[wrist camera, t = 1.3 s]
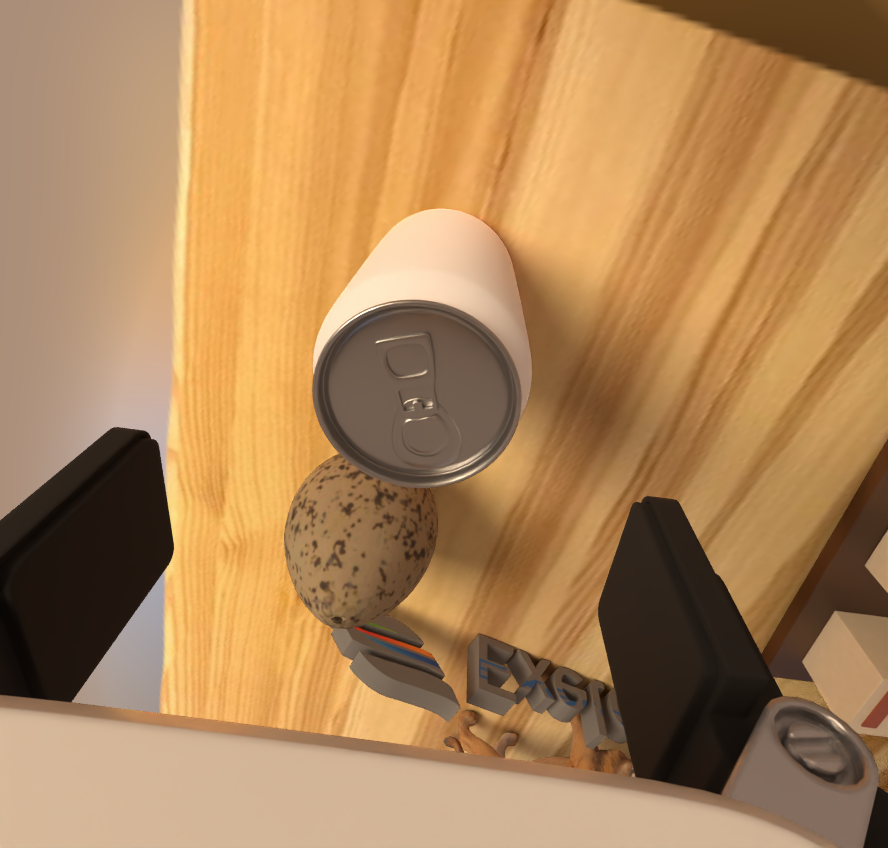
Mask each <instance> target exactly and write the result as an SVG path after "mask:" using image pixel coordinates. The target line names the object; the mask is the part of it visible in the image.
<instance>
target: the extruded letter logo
mask: <svg viewBox="0 0 888 848" xmlns="http://www.w3.org/2000/svg"><path fill="white" fill-rule="evenodd" d="M330 627H331V626H330ZM331 628H333V629H334V630H333V632H332V633H331V635H332V637H333V639H334V641H335V643H336V644H337V646H338V648H339V650H340V652H341V654H342V655H343V656H345V657H347V658H349V659H351V660H353V662H352V663H351V665H350V666H349V667H350V669H351V670H352V671H353V672H354V674H355V675H356V676H357V677H358V678H359V679H360V680H361V681H362V682H363V683H365V684H366V685H367V686H368V687H370V688H371V689H372V690H374V691H376V692H377V693H379V694H381V695H383V696H386V697H389V698H393V699H396V700H399V701H402V702H405V703H408V704H412V705H415V706H418V707H421V708H424V709H426V710H429V711H431V712H434V713H436V714H438V715H439V716H441V717H442V718H444V719H445V720H446V721H447V722H449V721H450V720H451V719H452V717H453V716H454V715H455V714H456V713H457V712H458V710H459V709H460V705H459V702H458V700H457V698H456V696H455V694H454V691H453V689H452V688H451V687H450V686H449V685H448V684H447V683H445V682H444V681H442V679H443V678H444V676H445V675H444V673H443V671H442V670H441V668H440V667H439V665H438V663H437V662H436V660H435V658H434V657H433V655H432V654H431V653H429V652H426V651H424V650H422V649H420V648H421V647H422V645H423V644H424V643H423V641H422V640H421V639H420V638H419V637H418V636H417V635H416V634H415V633H414V632H413V631H412V630H411V629H410V628H408V627H407V626H406V625H404V624H403V623H401V622H400V621H398V620H396V619H394V618H393V617H390V616H388V615H384V616H382V617H380V618H378V619H376V620H374V621H372V622H370V623H367V624H364V625H361V626H358V627H355V628H349V629H338V628H334V627H331ZM509 658H510V659H509ZM508 659H509V660H508ZM507 660H508V661H507ZM505 663H506V664H507V665H508V667H509V668H508V667H505V666H503V665H504V664H505ZM550 663H551V662H549V661H547V660H544V659H541V660H540V661H539V663H538V664H537V665H536V666H534V664H533V663H532V661H531V659H530V657H529V656H528V654H527V652H524V651H522V650H519V649H517V651H516V652H515V653H514V654H513V647H512V646H509V645H507V644H504V643H501V642H499V641H496V640H494V639H491V638H489V637H486V636H484V635H481V634H478V636H477V637H476V638H475V639H474V641H473V642H472V643H471V644H470V646H469V647H468V661H467V703H469V704H472V705H475V706H477V707H480V708H483V709H485V710H488V711H491V712H494V713H496V714H499V715H502V716H504V715H505V714H506V712H507V711H508V710H509V709H510V708H511V707H512V706H513V705H514V704H517V705H518V704H519V703H520V702H521V701H522V700H523V698H524V697H526V699H527V701H528V702H529V704H530V706H531V708H532V710H533V711H536V712H538V713H541V714H542V713H543V712H544V711H545V710H546V709H547V711H548V712H549V714H550V715H551V716H552V717H553V718H555V719H557V720H558V721H561V722H569V721H571V720H572V719H573V718H574V717H575V716H576V715H577V714H578V713H579V712H580V716H581V722H582V729H583V735H584V741H585V747H588V748H590V749H594V748H595V747H596V746H597V745H599V744H600V743H601V742H602V741H603V740H604V739H605V738H607V737H608V738H609V739H611V740H612V741H614V742H616V743H625V742H626V741H627V739H626V735H625V731H624V726H623V722H622V718H621V713H620V709H619V705H618V700H617V696H616V692H615V688H614V689H612V690H611V691H610V692H608V693H607V694H606V695H605V696H604V697H603V698H602V699H601V700H600V698H599V694H600V693H601V692H602V691H603V690H604V685H603V683H602V682H599V681H596V680H593V681H592V682H590V683H589V684H588V685H587V686H586V687H585V688H584V689H583V690H581V689H578V688H576V686H577V685H578V684H579V683H580V682H581V681H582V680H583V679H582V678H581V677H580V676H579V675H578V674H577V673H575V672H574V671H572V670H570V669H568V668H565V667H559V668H557V669H556V670H555V671H554V672H553V673H552V674H551V676H550V677H549V678H548V679H547V680H546V681H545V682H544V681H543V680H542V678H541V675H542V674H543V672H544V671H545V669H546V668H547V667H548V665H549V664H550ZM510 670H511V672H512V674H513V676H514V678H515V679H516V681H517V683H518V684H519V686H520V687H519V688H518V689H517V691H516V692H515V693H511V692H509V691H506V690H503V689H501V688H500V687H501V686H502V685H503V684H504V683H505V681H506V680H507V679H508V678H509V677H510V676H511V673H510Z"/></svg>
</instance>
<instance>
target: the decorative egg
mask: <svg viewBox="0 0 888 848" xmlns="http://www.w3.org/2000/svg"><path fill="white" fill-rule="evenodd" d="M437 532H438V517H437V509H436V504H435V501H434V497H433V495H432V492H431V490H430V488H411V487H403V486H398V485H394V484H390V483H387V482H384V481H381V480H378V479H376V478H374V477H372V476H370V475H368V474H366V473H364V472H362V471H361V470H359V469H358V468H356V467H355V466H353V465H352V464H351V463H349V462H348V461H347V460H346V459H345V458H344V457H343V456H342V455H341V454H338V455H336V456H333V457H332V458H330V459H328V460H326V461H325V462H324V463H322V464H321V465H320V466H318V467H317V468H316V469H315V470H314V471H313V472H312V473H311V474H310V475H309V476H308V477H307V478H306V479H305V481H304V482H303V484H302V485H301V487H300V488H299V490H298V491H297V493H296V495H295V497H294V499H293V501H292V504H291V507H290V510H289V513H288V517H287V521H286V526H285V533H284V545H285V556H286V561H287V566H288V570H289V573H290V576H291V579H292V582H293V584H294V587H295V589H296V591H297V593H298V595H299V596H300V598H301V600H302V601H303V603H304V604H305V606H306V607H307V608H308V609H309V610H310V611H311V612H312V614H313V615H314V616H315V617H316V618H318V619H319V620H320V621H321V622H323V623H324V624H326V625H328V626H331V627H334V628H338V629H349V628H355V627H358V626H361V625H364V624H367V623H370V622H372V621H374V620H376V619H378V618H380V617H382V616H384V615H385V614H387V613H388V612H390V611H391V610H393V609H394V608H395V607H396V606H398V605H399V604H400V603H401V602H402V601H403V600H404V599H405V598H406V597H407V596H408V595H409V594H410V593H411V592H412V591H413V590H414V588H415V587H416V585H417V584H418V583H419V581H420V580H421V578H422V577H423V575H424V573H425V572H426V570H427V568H428V566H429V563H430V561H431V558H432V556H433V552H434V549H435V545H436V540H437Z"/></svg>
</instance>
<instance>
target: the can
mask: <svg viewBox="0 0 888 848" xmlns="http://www.w3.org/2000/svg"><path fill="white" fill-rule="evenodd" d="M531 379H532V362H531V353H530V346H529V341H528V335H527V330H526V325H525V320H524V315H523V310H522V305H521V300H520V295H519V291H518V286H517V281H516V277H515V272H514V268H513V265H512V261H511V258H510V256H509V253H508V251H507V249H506V247H505V245H504V244H503V242H502V241H501V239H500V238H499V237H498V235H497V234H496V233H495V232H494V231H493V230H492V229H491V228H490V227H489V226H488V225H486V224H485V223H484V222H482V221H481V220H479V219H478V218H476V217H474V216H472V215H470V214H467V213H464V212H461V211H457V210H452V209H431V210H425V211H421V212H418V213H416V214H413V215H411V216H409V217H407V218H405V219H404V220H402V221H400V222H399V223H398V224H396V225H395V226H394V227H393V228H392V229H391V230H390V231H389V232H388V233H387V234H386V235H385V236H384V238H383V239H382V240H381V241H380V243H379V244H378V245H377V246H376V248H375V249H374V250H373V252H372V253H371V254H370V256H369V257H368V258H367V259H366V261H365V262H364V263H363V265H362V266H361V267H360V269H359V270H358V272H357V273H356V274H355V276H354V277H353V278H352V280H351V281H350V282H349V284H348V285H347V286H346V288H345V289H344V291H343V292H342V293H341V295H340V296H339V298H338V299H337V300H336V302H335V303H334V305H333V306H332V308H331V309H330V311H329V313H328V314H327V316H326V318H325V320H324V322H323V324H322V326H321V328H320V331H319V334H318V337H317V340H316V344H315V348H314V355H313V402H314V407H315V412H316V415H317V418H318V421H319V423H320V426H321V428H322V430H323V432H324V433H325V435H326V437H327V438H328V440H329V441H330V443H331V444H332V445H333V447H334V448H335V449H336V450H337V451H338V452H339V453H340V454H341V455H342V456H343V457H344V458H345V459H346V460H347V461H348V462H349V463H351V464H352V465H353V466H355V467H356V468H358V469H359V470H361V471H362V472H364V473H366V474H368V475H370V476H372V477H374V478H376V479H378V480H381V481H384V482H387V483H390V484H394V485H398V486H403V487H411V488H434V487H441V486H447V485H451V484H454V483H458V482H460V481H463V480H466V479H468V478H470V477H472V476H474V475H476V474H477V473H479V472H481V471H482V470H484V469H485V468H486V467H488V466H489V465H490V464H491V463H493V462H494V461H495V460H496V459H497V458H498V457H499V456H500V455H501V453H502V452H503V451H504V450H505V448H506V447H507V445H508V444H509V442H510V441H511V439H512V437H513V435H514V433H515V430H516V428H517V425H518V422H519V420H520V418H521V416H522V414H523V412H524V409H525V407H526V404H527V401H528V398H529V394H530V389H531Z"/></svg>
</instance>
